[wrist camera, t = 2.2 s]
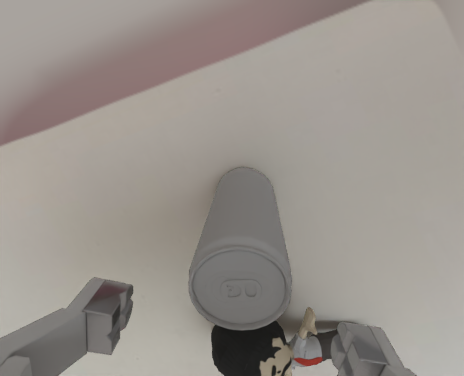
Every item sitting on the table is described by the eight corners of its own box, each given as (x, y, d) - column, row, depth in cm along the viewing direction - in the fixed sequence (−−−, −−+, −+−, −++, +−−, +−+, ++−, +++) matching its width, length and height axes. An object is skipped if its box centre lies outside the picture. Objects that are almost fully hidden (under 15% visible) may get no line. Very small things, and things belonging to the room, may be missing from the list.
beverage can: (214, 166, 22) (177, 246, 11) (272, 163, 22) (295, 243, 11) (219, 218, 24) (192, 333, 13) (273, 216, 24) (294, 333, 12)
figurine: (351, 393, 27) (210, 426, 23) (316, 336, 33) (197, 352, 28) (390, 323, 24) (232, 344, 19) (343, 272, 30) (212, 279, 25)
